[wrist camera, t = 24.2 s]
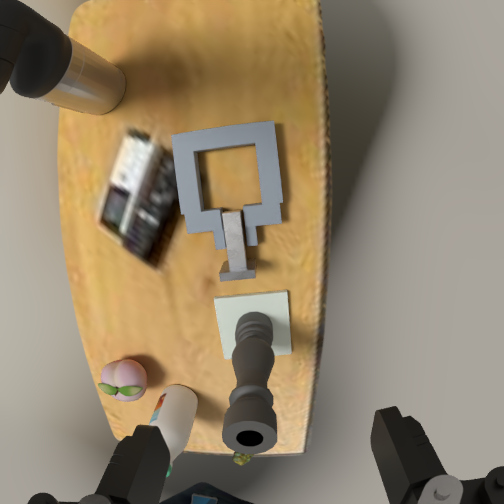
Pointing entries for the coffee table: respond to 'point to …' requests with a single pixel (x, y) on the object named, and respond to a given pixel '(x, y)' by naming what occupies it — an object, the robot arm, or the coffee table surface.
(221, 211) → the socket block
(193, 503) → the smartphone
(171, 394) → the milk bottle
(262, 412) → the candle holder
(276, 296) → the board
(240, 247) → the grey t-shaped block
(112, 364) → the decorative fruit
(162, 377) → the coffee table surface
